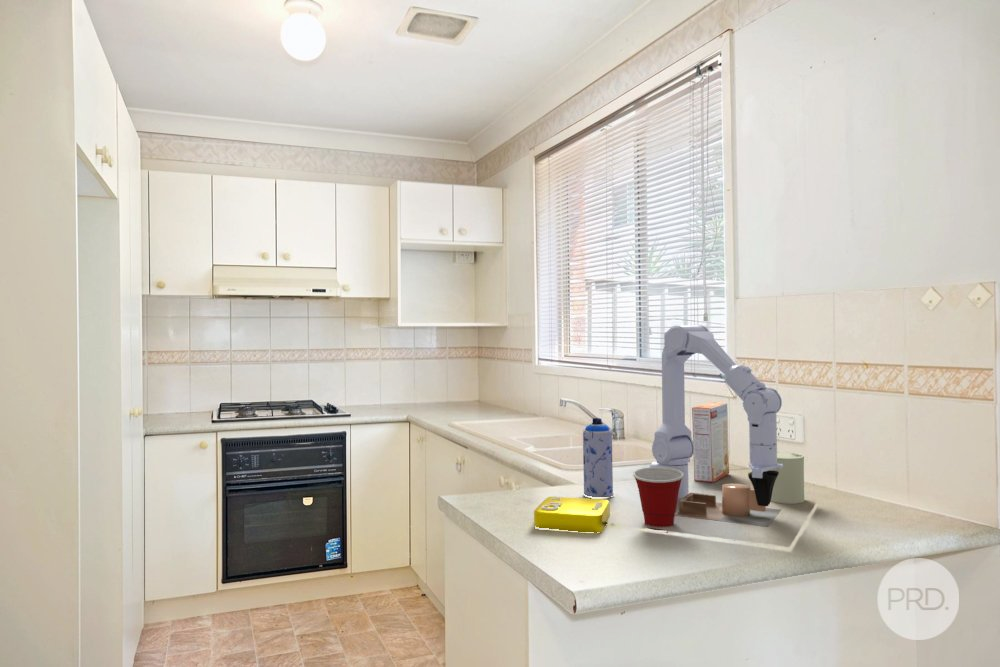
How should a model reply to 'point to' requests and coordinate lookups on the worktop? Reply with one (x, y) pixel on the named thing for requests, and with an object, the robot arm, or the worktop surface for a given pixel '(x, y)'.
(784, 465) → the can
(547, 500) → the element tile
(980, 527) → the worktop surface
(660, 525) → the plastic cup
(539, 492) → the worktop surface
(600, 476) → the aerosol can
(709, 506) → the cradle
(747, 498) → the capsule with rectangular tab
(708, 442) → the cracker box
